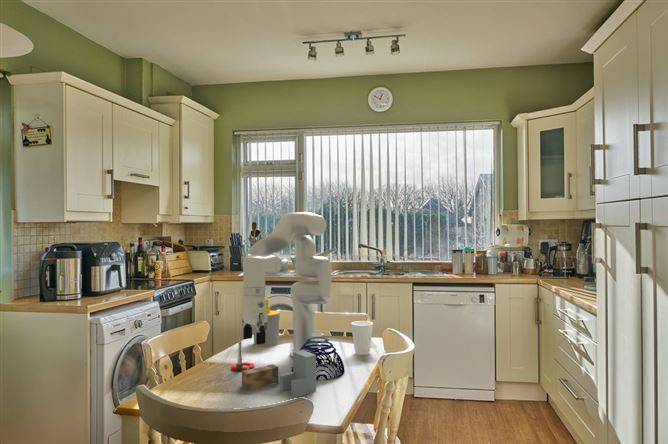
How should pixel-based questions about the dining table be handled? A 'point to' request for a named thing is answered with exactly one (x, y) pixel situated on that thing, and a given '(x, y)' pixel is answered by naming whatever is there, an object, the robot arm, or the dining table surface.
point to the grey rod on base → (239, 365)
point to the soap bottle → (270, 328)
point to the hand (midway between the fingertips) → (254, 341)
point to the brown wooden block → (260, 377)
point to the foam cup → (362, 336)
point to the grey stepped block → (300, 374)
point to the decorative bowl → (309, 347)
